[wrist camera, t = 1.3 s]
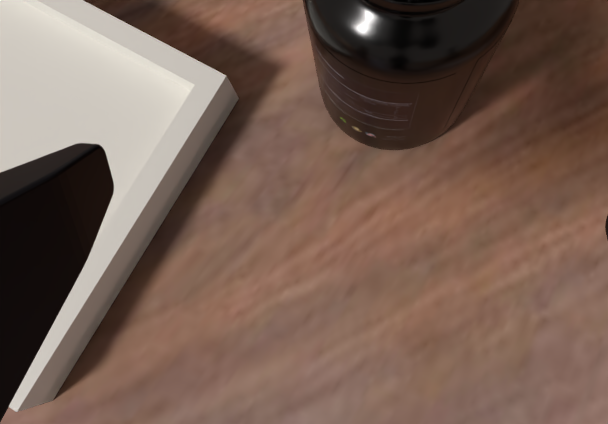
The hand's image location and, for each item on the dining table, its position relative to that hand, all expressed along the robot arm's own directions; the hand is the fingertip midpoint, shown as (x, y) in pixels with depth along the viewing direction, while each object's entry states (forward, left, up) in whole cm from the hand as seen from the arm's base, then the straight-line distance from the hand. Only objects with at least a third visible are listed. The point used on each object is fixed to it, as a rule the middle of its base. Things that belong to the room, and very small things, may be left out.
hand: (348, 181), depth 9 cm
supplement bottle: (+2, -8, -14) cm, 16 cm away
